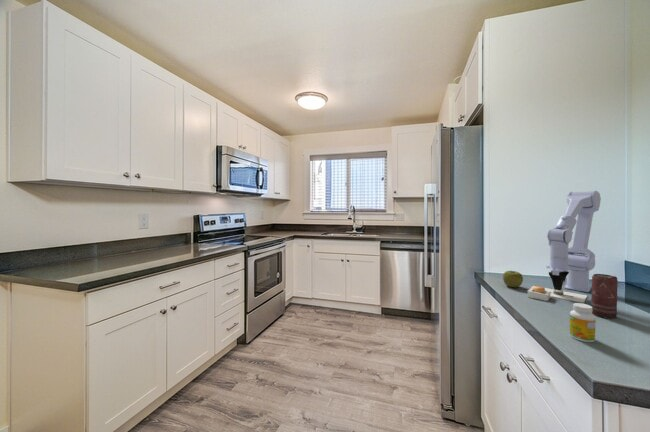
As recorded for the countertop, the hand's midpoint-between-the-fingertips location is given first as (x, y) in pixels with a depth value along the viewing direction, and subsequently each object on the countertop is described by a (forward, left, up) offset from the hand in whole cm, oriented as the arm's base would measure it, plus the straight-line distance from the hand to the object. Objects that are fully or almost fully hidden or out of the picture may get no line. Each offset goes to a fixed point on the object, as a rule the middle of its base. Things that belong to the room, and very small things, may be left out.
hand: (558, 288), depth 112 cm
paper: (-1, -1, -3) cm, 3 cm away
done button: (+9, -5, -1) cm, 10 cm away
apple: (+1, -16, -3) cm, 16 cm away
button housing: (+9, -5, -3) cm, 11 cm away
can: (+15, +14, -3) cm, 21 cm away
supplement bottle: (+41, +11, -3) cm, 43 cm away
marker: (0, 0, -2) cm, 2 cm away
